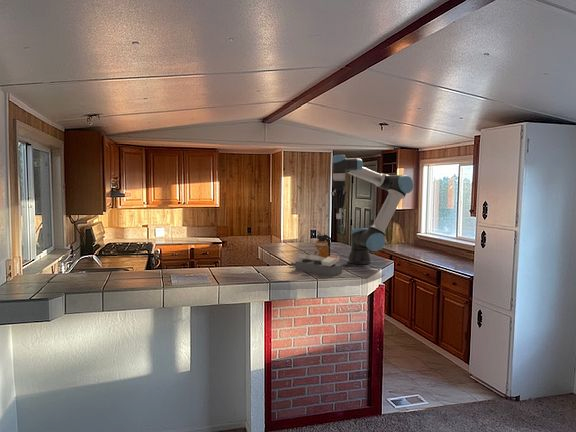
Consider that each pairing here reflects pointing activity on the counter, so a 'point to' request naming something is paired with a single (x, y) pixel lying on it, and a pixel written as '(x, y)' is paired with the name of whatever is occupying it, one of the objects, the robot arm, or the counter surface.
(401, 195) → the robot arm
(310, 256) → the rocker
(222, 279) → the counter surface
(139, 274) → the counter surface
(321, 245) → the canister
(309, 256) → the rocker
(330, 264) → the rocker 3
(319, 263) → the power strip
